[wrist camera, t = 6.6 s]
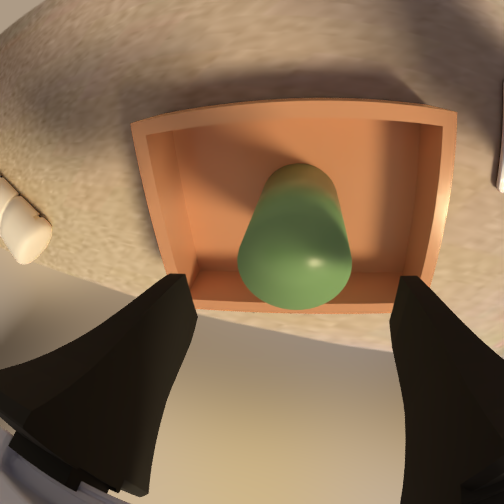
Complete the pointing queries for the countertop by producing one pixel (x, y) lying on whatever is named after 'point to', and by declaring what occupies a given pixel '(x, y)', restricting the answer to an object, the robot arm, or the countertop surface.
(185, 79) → the countertop surface
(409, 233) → the terracotta bin
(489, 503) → the robot arm
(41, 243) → the unicorn horn
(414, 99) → the countertop surface
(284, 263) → the cucumber piece
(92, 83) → the countertop surface
